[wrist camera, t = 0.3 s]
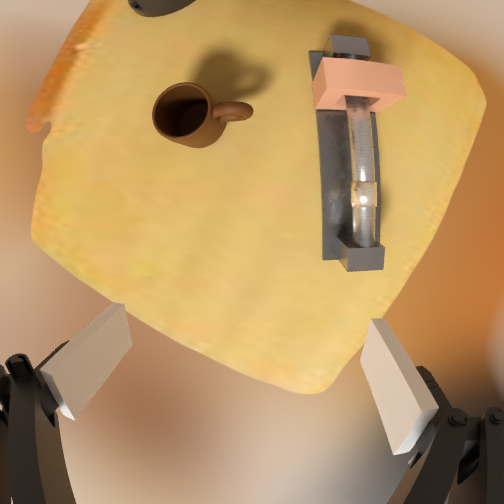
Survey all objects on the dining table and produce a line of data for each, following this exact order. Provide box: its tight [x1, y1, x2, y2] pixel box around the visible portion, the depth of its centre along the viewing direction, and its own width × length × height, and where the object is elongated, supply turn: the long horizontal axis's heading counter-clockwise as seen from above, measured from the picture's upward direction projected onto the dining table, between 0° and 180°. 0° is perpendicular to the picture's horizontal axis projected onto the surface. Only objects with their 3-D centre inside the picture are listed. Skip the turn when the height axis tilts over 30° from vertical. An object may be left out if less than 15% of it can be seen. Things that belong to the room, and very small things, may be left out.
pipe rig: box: [308, 34, 385, 272], centre depth 32 cm, size 32×9×8 cm, turn 4°
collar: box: [312, 57, 406, 112], centre depth 28 cm, size 4×10×10 cm, turn 94°
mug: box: [152, 82, 253, 148], centre depth 31 cm, size 12×8×9 cm, turn 89°
